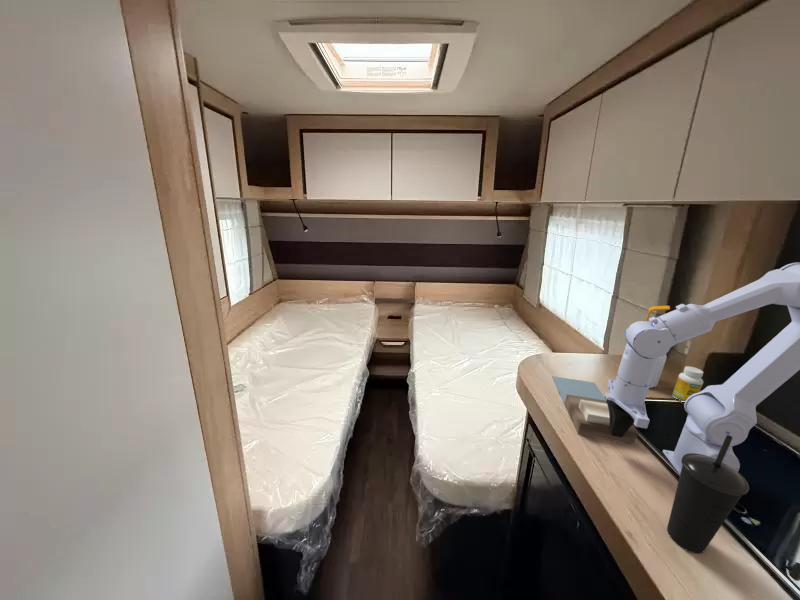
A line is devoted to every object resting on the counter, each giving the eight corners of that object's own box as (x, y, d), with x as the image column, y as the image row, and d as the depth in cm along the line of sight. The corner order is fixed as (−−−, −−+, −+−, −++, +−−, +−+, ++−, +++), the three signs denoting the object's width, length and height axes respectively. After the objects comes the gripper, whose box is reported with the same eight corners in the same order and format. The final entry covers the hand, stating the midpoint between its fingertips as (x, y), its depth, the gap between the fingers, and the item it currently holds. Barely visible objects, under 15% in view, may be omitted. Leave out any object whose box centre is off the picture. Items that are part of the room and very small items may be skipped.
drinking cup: (691, 519, 58) (733, 422, 52) (729, 565, 51) (783, 459, 45) (646, 514, 59) (683, 417, 53) (677, 559, 52) (724, 453, 45)
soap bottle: (656, 392, 99) (683, 313, 91) (620, 380, 104) (643, 305, 96) (657, 380, 106) (682, 306, 98) (623, 370, 111) (644, 298, 103)
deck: (634, 444, 76) (638, 432, 75) (577, 433, 78) (580, 423, 77) (613, 412, 87) (616, 402, 87) (564, 404, 90) (566, 394, 89)
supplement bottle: (682, 394, 99) (693, 364, 96) (700, 405, 94) (712, 374, 91) (666, 394, 98) (677, 364, 95) (683, 405, 93) (695, 374, 90)
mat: (612, 411, 88) (612, 410, 88) (563, 403, 90) (564, 402, 90) (594, 383, 101) (594, 382, 101) (552, 376, 103) (552, 376, 103)
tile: (628, 428, 77) (631, 421, 76) (586, 421, 78) (588, 414, 77) (618, 412, 82) (620, 405, 82) (578, 406, 84) (580, 399, 83)
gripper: (599, 360, 76) (585, 411, 80) (627, 395, 63) (608, 454, 67) (633, 365, 75) (617, 416, 79) (669, 402, 62) (647, 461, 66)
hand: (615, 434), depth 73 cm, fingers closed
